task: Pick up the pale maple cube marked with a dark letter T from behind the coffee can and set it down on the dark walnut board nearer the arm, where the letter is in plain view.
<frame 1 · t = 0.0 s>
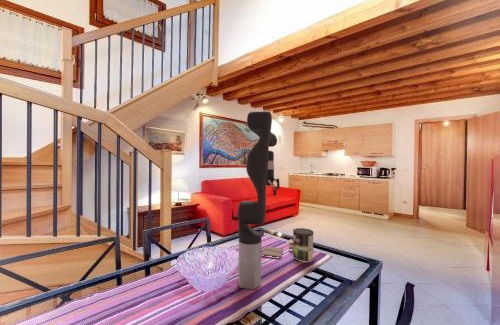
hand: (267, 195, 139), 29 cm above the table, tool pointing down, fingers open, 8 cm apart
letter cube: (293, 249, 132), on the table
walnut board: (272, 253, 126), on the table
coffee can: (302, 258, 120), on the table
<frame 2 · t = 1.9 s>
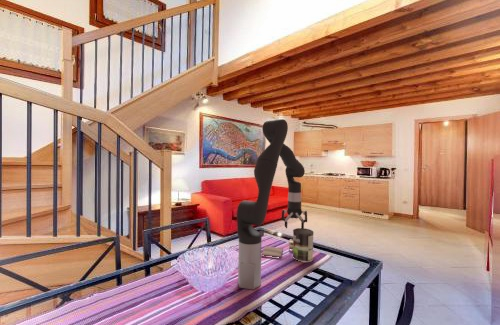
hand: (294, 228, 132), 12 cm above the table, tool pointing down, fingers open, 8 cm apart
nothing on the table moved.
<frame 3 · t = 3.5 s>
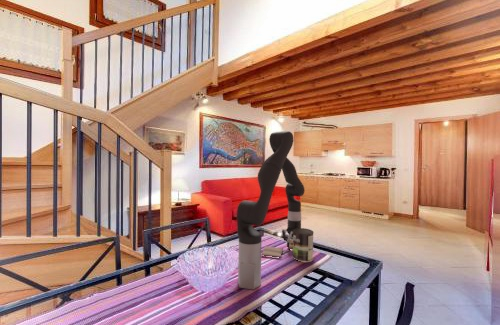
hand: (293, 248, 132), 0 cm above the table, tool pointing down, fingers closed on letter cube, 5 cm apart
letter cube: (293, 249, 132), on the table, touching gripper
everything else where it was.
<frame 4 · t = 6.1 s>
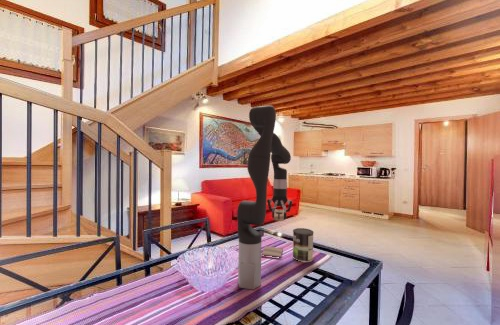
hand: (279, 218, 127), 19 cm above the table, tool pointing down, fingers closed on letter cube, 5 cm apart
letter cube: (279, 219, 127), point 18 cm above the table, touching gripper
everything else where it was.
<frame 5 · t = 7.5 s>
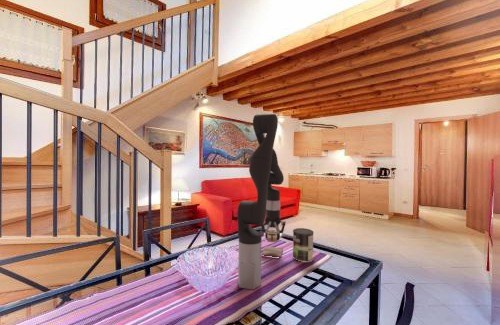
hand: (272, 239, 126), 7 cm above the table, tool pointing down, fingers closed on letter cube, 5 cm apart
letter cube: (272, 240, 126), point 7 cm above the table, touching gripper
everything else where it was.
when the fingers open (3 cm above the table, at t = 8.8 s): letter cube drops 1 cm, resting on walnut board.
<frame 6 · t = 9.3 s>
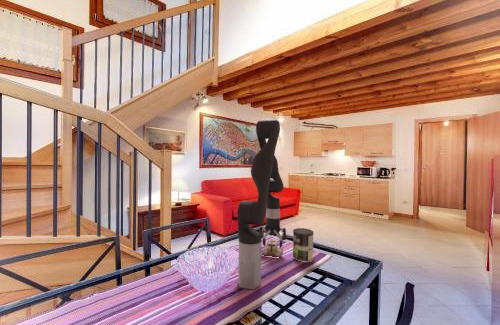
hand: (272, 246, 126), 4 cm above the table, tool pointing down, fingers open, 8 cm apart
letter cube: (272, 251, 126), point 1 cm above the table, touching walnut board
everything else where it was.
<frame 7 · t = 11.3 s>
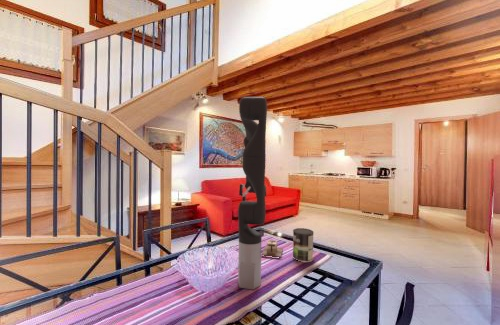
hand: (252, 204, 123), 27 cm above the table, tool pointing down, fingers open, 8 cm apart
nothing on the table moved.
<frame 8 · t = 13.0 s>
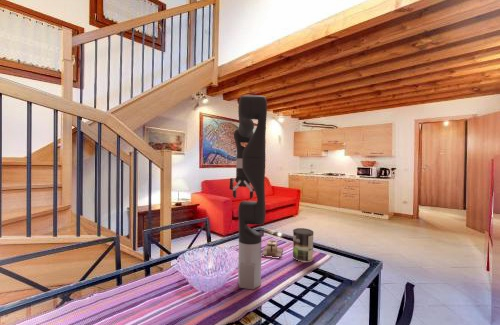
hand: (243, 198, 122), 30 cm above the table, tool pointing down, fingers open, 8 cm apart
nothing on the table moved.
at the end: letter cube inside the target area on the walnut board (0.2 cm from its centre), point 1.2 cm above the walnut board's base; letter cube tilted 0°; coffee can moved 0.2 cm from its start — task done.
